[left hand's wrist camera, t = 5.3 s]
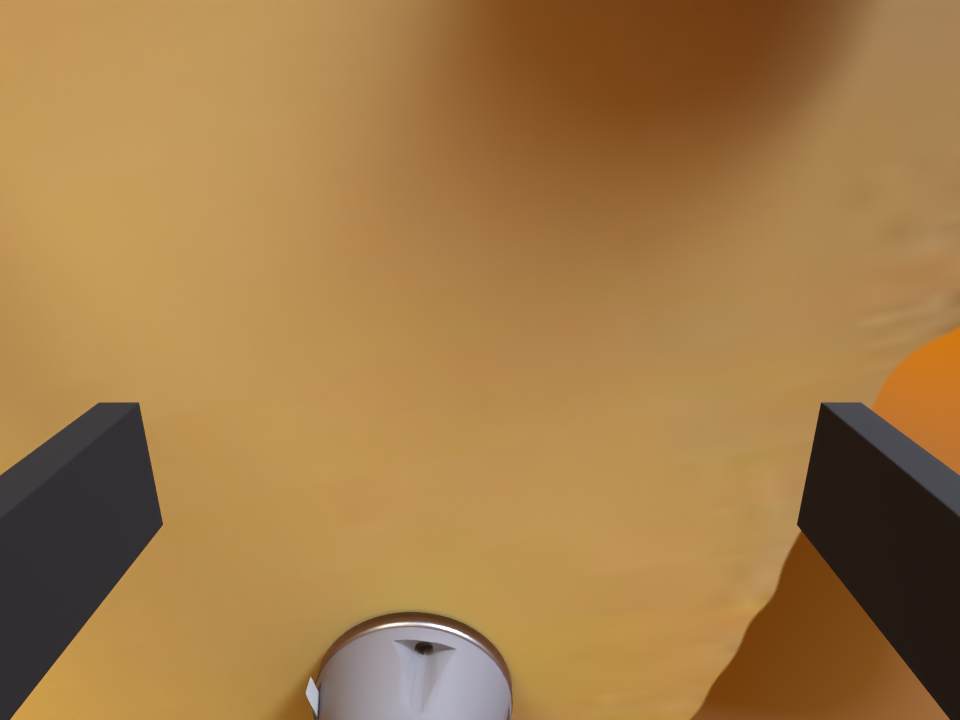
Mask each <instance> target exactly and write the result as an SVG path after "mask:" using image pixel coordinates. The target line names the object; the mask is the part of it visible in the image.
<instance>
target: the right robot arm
mask: <svg viewBox="0 0 960 720" xmlns="http://www.w3.org/2000/svg"><path fill="white" fill-rule="evenodd" d="M305 694H306V696H307V698H308V700H309V702H310V704H311V706H312V708H313V716H314V720H511V714H512V704H513V703H512V686H511V678H510V673H509V670H508V668H507V665H506V663H505V661H504V659H503V657H502V656H501V654H500V653H499V651H498V650H497V649H496V648H495V646H494V645H493V644H492V643H491V642H490V641H489V640H488V639H486V638H485V637H484V636H483V635H482V634H480V633H479V632H477V631H476V630H474V629H472V628H471V627H469V626H467V625H465V624H463V623H461V622H458V621H456V620H453V619H450V618H447V617H443V616H439V615H434V614H429V613H418V612H406V613H395V614H388V615H384V616H379V617H376V618H373V619H370V620H368V621H365V622H363V623H361V624H359V625H357V626H355V627H353V628H352V629H350V630H349V631H347V632H346V633H344V634H343V635H342V636H341V637H340V638H339V639H338V640H337V641H336V642H335V643H334V644H333V645H332V646H331V647H330V649H329V650H328V652H327V653H326V655H325V657H324V659H323V661H322V663H321V666H320V669H319V673H318V676H317V680H316V683H315V684H314V682H313V680H312V678H311V677H310V680H309V684H308V687H307V690H306V693H305Z"/></svg>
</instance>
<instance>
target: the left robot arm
mask: <svg viewBox="0 0 960 720" xmlns="http://www.w3.org/2000/svg"><path fill="white" fill-rule="evenodd" d="M162 525H163V522H162V517H161V512H160V507H159V502H158V497H157V492H156V487H155V482H154V477H153V472H152V467H151V462H150V457H149V452H148V446H147V441H146V436H145V431H144V426H143V421H142V416H141V411H140V406H139V403H98V404H96V405H95V406H94V407H92V408H91V409H90V410H88V411H87V412H86V413H84V414H83V415H82V416H80V417H79V418H78V419H76V420H75V421H73V422H72V423H71V424H69V425H68V426H67V427H65V428H64V429H63V430H61V431H60V432H59V433H57V434H56V435H55V436H53V437H52V438H50V439H49V440H48V441H46V442H45V443H44V444H42V445H41V446H40V447H38V448H37V449H36V450H34V451H33V452H32V453H30V454H29V455H28V456H26V457H25V458H23V459H22V460H21V461H19V462H18V463H17V464H15V465H14V466H13V467H11V468H10V469H9V470H7V471H6V472H5V473H3V474H2V475H0V720H10V719H11V717H12V716H13V715H14V714H15V712H16V711H17V710H18V709H19V707H20V706H21V705H22V703H23V702H24V701H25V700H26V698H27V697H28V696H29V695H30V693H31V692H32V691H33V689H34V688H35V687H36V686H37V684H38V683H39V682H40V681H41V679H42V678H43V677H44V675H45V674H46V673H47V672H48V670H49V669H50V668H51V667H52V665H53V664H54V663H55V661H56V660H57V659H58V658H59V656H60V655H61V654H62V653H63V651H64V650H65V649H66V647H67V646H68V645H69V644H70V642H71V641H72V640H73V639H74V637H75V636H76V635H77V633H78V632H79V631H80V630H81V628H82V627H83V626H84V625H85V623H86V622H87V621H88V619H89V618H90V617H91V616H92V614H93V613H94V612H95V611H96V609H97V608H98V607H99V605H100V604H101V603H102V602H103V600H104V599H105V598H106V597H107V595H108V594H109V593H110V591H111V590H112V589H113V588H114V586H115V585H116V584H117V583H118V581H119V580H120V579H121V577H122V576H123V575H124V574H125V572H126V571H127V570H128V569H129V567H130V566H131V565H132V563H133V562H134V561H135V560H136V558H137V557H138V556H139V555H140V553H141V552H142V551H143V549H144V548H145V547H146V546H147V544H148V543H149V542H150V540H151V539H152V538H153V537H154V535H155V534H156V533H157V532H158V530H159V529H160V528H161V526H162ZM797 525H798V526H799V528H800V529H801V530H802V532H803V533H804V534H805V535H806V537H807V538H808V539H809V540H810V542H811V543H812V544H813V546H814V547H815V548H816V549H817V551H818V552H819V553H820V554H821V556H822V557H823V558H824V560H825V561H826V562H827V563H828V565H829V566H830V567H831V569H832V570H833V571H834V572H835V574H836V575H837V576H838V577H839V579H840V580H841V581H842V582H843V584H844V585H845V586H846V588H847V589H848V590H849V591H850V593H851V594H852V595H853V596H854V598H855V599H856V600H857V602H858V603H859V604H860V605H861V607H862V608H863V609H864V610H865V612H866V613H867V614H868V616H869V617H870V618H871V619H872V621H873V622H874V623H875V625H876V626H877V627H878V628H879V630H880V631H881V632H882V633H883V635H884V636H885V637H886V639H887V640H888V641H889V642H890V644H891V645H892V646H893V647H894V649H895V650H896V651H897V652H898V654H899V655H900V656H901V658H902V659H903V660H904V661H905V663H906V664H907V665H908V667H909V668H910V669H911V670H912V672H913V673H914V674H915V675H916V677H917V678H918V679H919V681H920V682H921V683H922V684H923V686H924V687H925V688H926V689H927V691H928V692H929V693H930V695H931V696H932V697H933V698H934V700H935V701H936V702H937V703H938V705H939V706H940V707H941V709H942V710H943V711H944V712H945V714H946V715H947V716H948V717H949V719H950V720H960V475H958V474H957V473H955V472H954V471H953V470H951V469H950V468H949V467H947V466H946V465H945V464H943V463H942V462H941V461H939V460H938V459H937V458H935V457H934V456H932V455H931V454H930V453H928V452H927V451H926V450H924V449H923V448H922V447H920V446H919V445H918V444H916V443H915V442H914V441H912V440H911V439H910V438H908V437H907V436H905V435H904V434H903V433H901V432H900V431H899V430H897V429H896V428H895V427H893V426H892V425H891V424H889V423H888V422H887V421H885V420H884V419H882V418H881V417H880V416H878V415H877V414H876V413H874V412H873V411H872V410H870V409H869V408H868V407H866V406H865V405H864V404H862V403H821V406H820V411H819V416H818V421H817V426H816V431H815V436H814V441H813V446H812V452H811V457H810V462H809V467H808V472H807V477H806V482H805V487H804V492H803V497H802V502H801V507H800V512H799V517H798V522H797Z"/></svg>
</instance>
